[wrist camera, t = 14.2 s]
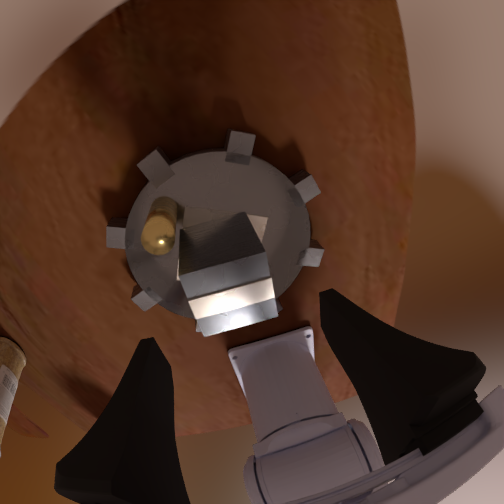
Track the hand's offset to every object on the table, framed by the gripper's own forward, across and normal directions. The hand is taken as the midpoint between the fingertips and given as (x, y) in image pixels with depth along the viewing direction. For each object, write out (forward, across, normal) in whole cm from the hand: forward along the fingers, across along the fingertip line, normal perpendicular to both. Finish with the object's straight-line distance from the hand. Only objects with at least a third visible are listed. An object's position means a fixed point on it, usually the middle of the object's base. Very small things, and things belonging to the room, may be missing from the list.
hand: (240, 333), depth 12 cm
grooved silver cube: (+7, 0, 0) cm, 7 cm away
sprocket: (+9, 0, 0) cm, 9 cm away
